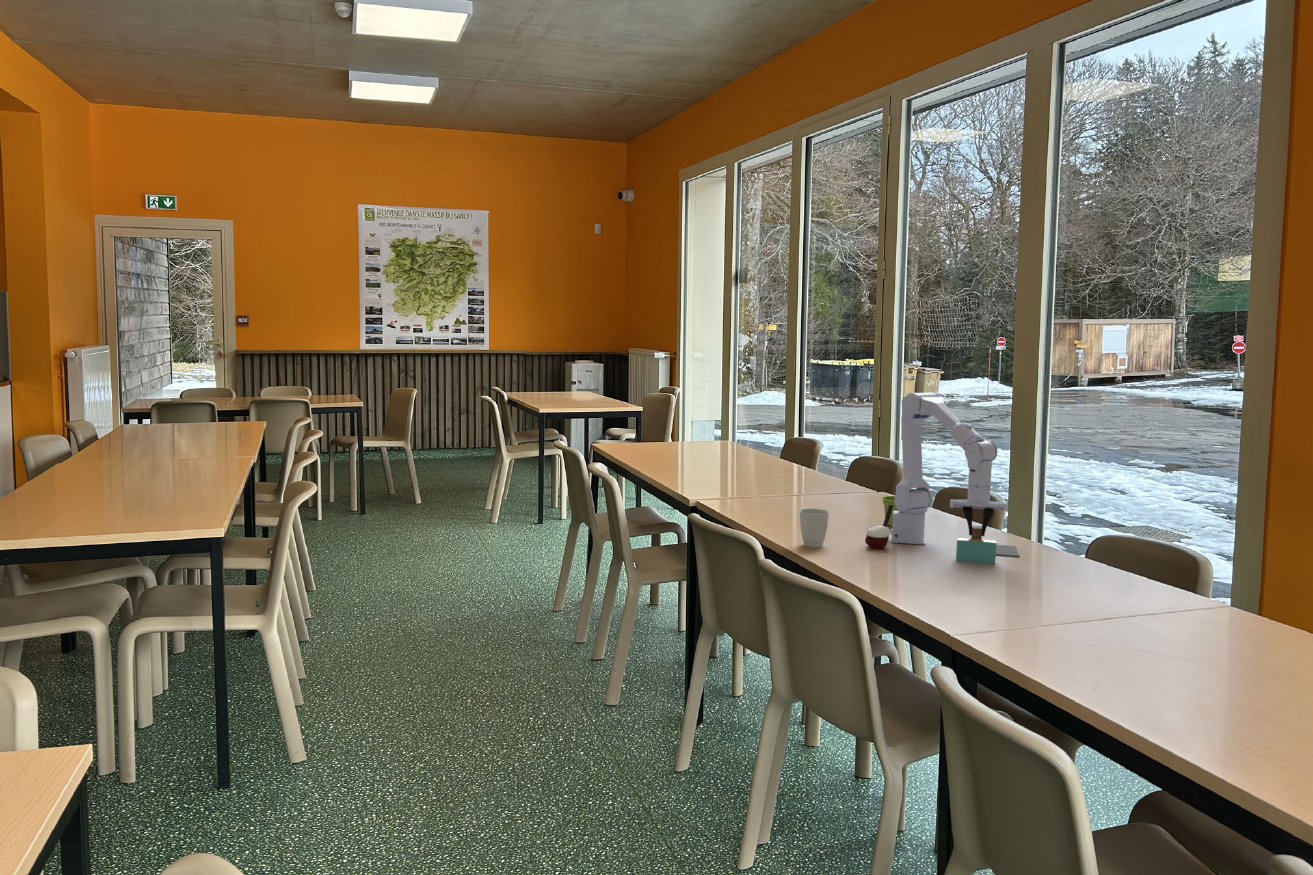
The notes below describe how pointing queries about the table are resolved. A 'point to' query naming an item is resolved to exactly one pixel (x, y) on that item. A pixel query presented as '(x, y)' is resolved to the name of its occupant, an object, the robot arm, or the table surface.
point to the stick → (976, 532)
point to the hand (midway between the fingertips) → (976, 535)
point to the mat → (1006, 551)
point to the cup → (813, 526)
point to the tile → (976, 550)
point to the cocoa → (879, 533)
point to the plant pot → (887, 501)
